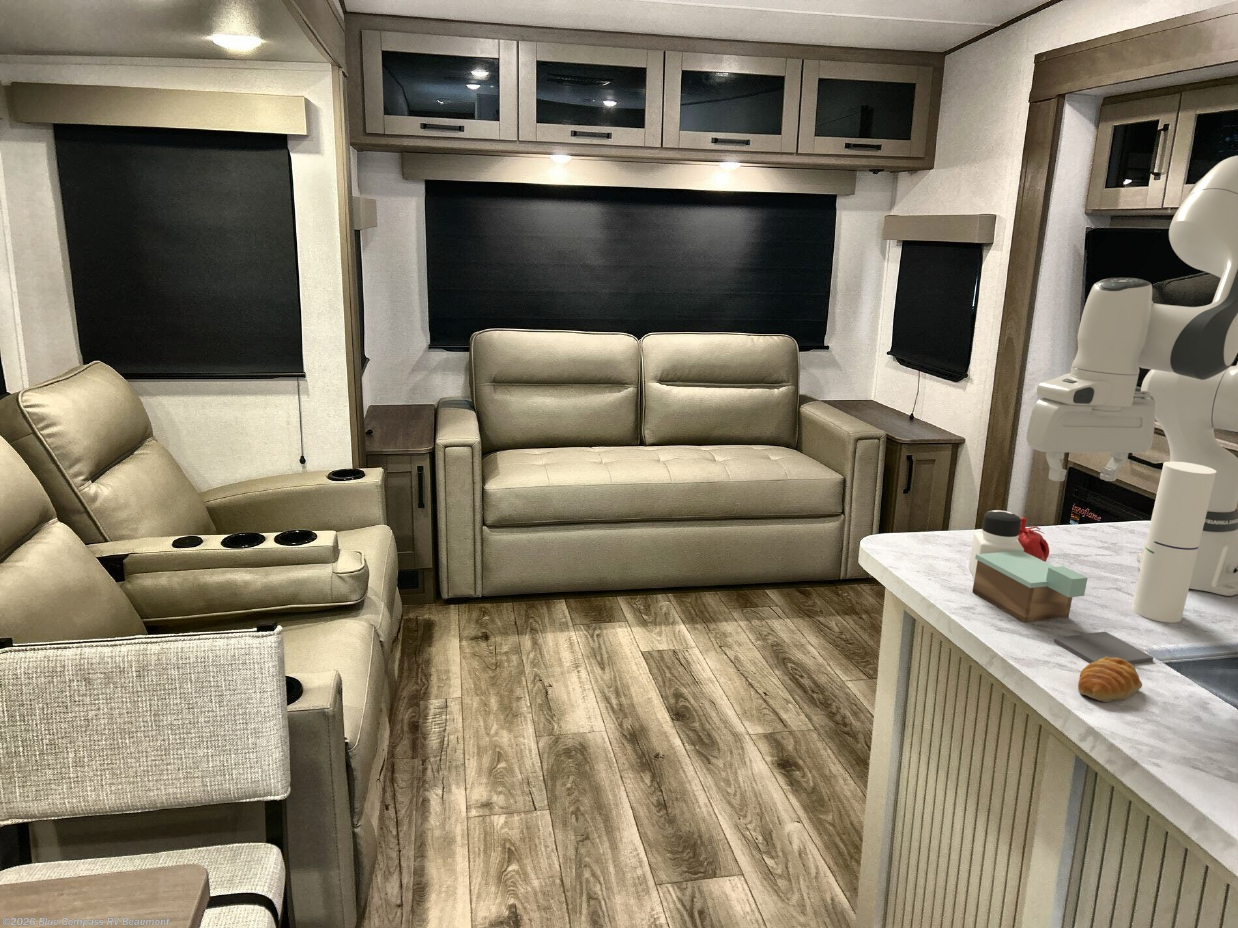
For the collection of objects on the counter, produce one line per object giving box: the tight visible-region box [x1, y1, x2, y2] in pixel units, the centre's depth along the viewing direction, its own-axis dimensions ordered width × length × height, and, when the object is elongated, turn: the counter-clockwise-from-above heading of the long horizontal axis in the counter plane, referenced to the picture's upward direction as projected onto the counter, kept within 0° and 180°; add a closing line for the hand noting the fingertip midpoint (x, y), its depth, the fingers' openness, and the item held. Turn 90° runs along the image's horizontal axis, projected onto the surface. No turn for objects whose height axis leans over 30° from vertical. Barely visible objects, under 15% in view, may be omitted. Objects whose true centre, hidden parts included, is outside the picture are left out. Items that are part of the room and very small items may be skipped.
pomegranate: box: [1017, 516, 1050, 563], centre depth 164 cm, size 10×10×9 cm
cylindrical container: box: [1131, 460, 1216, 624], centre depth 144 cm, size 7×7×25 cm
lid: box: [975, 550, 1089, 598], centre depth 144 cm, size 10×17×3 cm, turn 19°
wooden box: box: [971, 561, 1073, 623], centre depth 147 cm, size 9×12×6 cm
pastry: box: [1077, 657, 1143, 703], centre depth 120 cm, size 9×7×4 cm
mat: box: [1052, 631, 1154, 665], centre depth 132 cm, size 10×9×1 cm
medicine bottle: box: [968, 509, 1024, 579], centre depth 157 cm, size 7×7×12 cm
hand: (1081, 480), depth 135 cm, fingers open, 8 cm apart
